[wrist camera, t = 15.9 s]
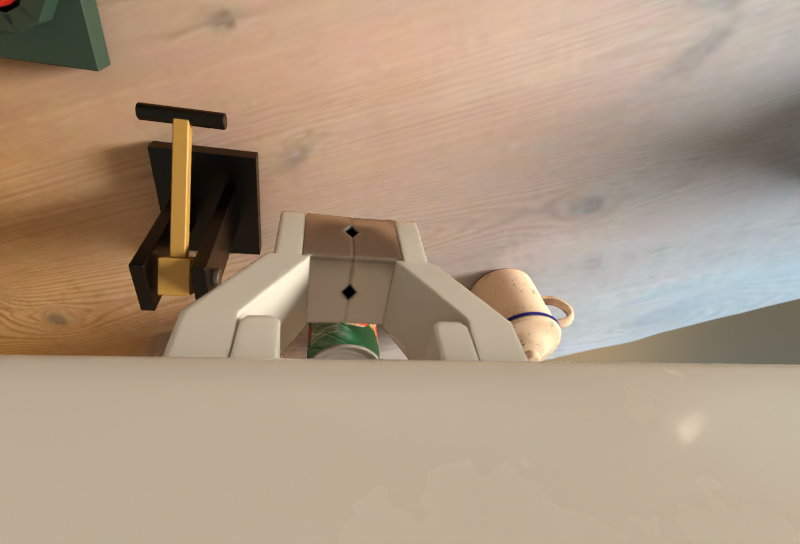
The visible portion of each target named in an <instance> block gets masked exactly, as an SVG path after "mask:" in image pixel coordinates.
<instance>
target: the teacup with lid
mask: <svg viewBox="0 0 800 544" xmlns="http://www.w3.org/2000/svg"><path fill="white" fill-rule="evenodd" d="M471 292H472V293H473V294H474V295H476V296H477V297H478V298H480V299H481V300H482V301H484V302H485V303H486V304H487V305H489V306H490V307H491V308H493V309H494V310H495V311H497V312H498V313H499V314H501V315H502V316H503V317H504V318H506V319H507V320H508V321H510V322H511V324H512V326H513V328H514V330H515V332H516V335H517V337H518V339H519V341H520V343H521V346H522V348H523V350H524V352H525V354H526V357H527V359H528V361H541V360H543V359H545V358H546V357H547V356H549V355H550V354H551V353H552V352H553V351H554V350H555V349H556V347H557V346H558V344H559V341H560V338H561V328H563V327H566V326H568V325H570V324H571V323H572V321H573V319H574V311H573V309H572V308H571V306H570V305H569V304H567V303H566V302H565V301H563V300H561V299H559V298H557V297H553V296H540V294H539V293H538V291H537V289H536V288H535V286H534V284H533V282H532V281H531V279H530V278H529V276H528V275H527V274H525V273H524V272H522V271H519V270H516V269H501V270H496V271H493V272H491V273H489V274H487V275H485V276H484V277H482V278H481V279H480V280H479V281H478V282H477V283H476V284H475V285H474V286H473V288H472V289H471ZM546 305H553V306H556V307H558V308H560V309H561V310H562V311H564V312H565V314H566V315H567V317H565V318H563V319H557V320H556V319H555V318H554V317H553V316H552V315H551V313H550V311H549V310H548V308H547V306H546Z"/></svg>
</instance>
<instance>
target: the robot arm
mask: <svg viewBox="0 0 800 544" xmlns="http://www.w3.org/2000/svg"><path fill="white" fill-rule="evenodd" d="M307 322H313V323H360V324H377V325H382V327H383V328H384V329H385V330H386V332H387V333H388V334H389V335H390V337H391V338H392V339H393V340H394V342H395V343H396V344H397V345H398V347H399V348H400V349H401V350H402V352H403V353H404V354H405V355H406V357H407V358H408V359H409V360H384V359H302V358H280V356H281V355H282V353H283V352H284V351H285V350H286V349H287V347H288V346H289V345H290V344H291V343H292V341H293V340H294V339H295V338H296V337H297V335H298V334H299V333H300V332H301V331H302V329H303V328H304V327H305V326H306V324H307ZM0 544H800V365H782V364H703V363H700V364H699V363H624V362H621V363H620V362H541V361H528V359H527V357H526V354H525V352H524V350H523V348H522V346H521V343H520V341H519V339H518V337H517V335H516V332H515V330H514V328H513V326H512V324H511V322H510V321H508V320H507V319H506V318H504V317H503V316H502V315H501V314H499V313H498V312H497V311H495V310H494V309H493V308H491V307H490V306H489V305H487V304H486V303H485V302H484V301H482V300H481V299H480V298H478V297H477V296H476V295H474V294H473V293H472V292H471V291H469V290H468V289H467V288H465V287H464V286H463V285H461V284H460V283H459V282H458V281H456V280H455V279H454V278H452V277H451V276H450V275H448V274H447V273H446V272H444V271H443V270H442V269H441V268H439V267H438V266H437V265H435V264H434V263H428V262H427V258H426V255H425V252H424V248H423V245H422V242H421V238H420V235H419V231H418V228H417V225H416V223H415V222H414V221H392V220H375V219H358V218H351V217H341V216H331V215H321V214H312V213H307V214H305V212H291V211H283V212H282V213H281V217H280V222H279V228H278V233H277V239H276V244H275V249H274V253H266V254H264V255H263V256H261V257H260V258H258V259H257V260H255V261H254V262H252V263H251V264H250V265H248V266H247V267H245V268H244V269H242V270H241V271H239V272H238V273H236V274H235V275H233V276H232V277H230V278H229V279H227V280H226V281H224V282H223V283H221V284H220V285H218V286H217V287H215V288H214V289H212V290H211V291H209V292H208V293H206V294H205V295H203V296H202V297H200V298H199V299H197V300H196V301H195V302H193V303H192V304H190V305H189V306H187V307H186V308H184V309H183V310H181V312H180V314H179V316H178V319H177V321H176V324H175V326H174V329H173V331H172V334H171V336H170V339H169V341H168V344H167V346H166V348H165V351H164V353H163V356H162V357H149V356H72V355H0Z"/></svg>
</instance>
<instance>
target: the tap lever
mask: <svg viewBox="0 0 800 544" xmlns="http://www.w3.org/2000/svg"><path fill="white" fill-rule="evenodd" d="M135 110H136V116H137V118H138V119H140V120H147V121H155V122H164V123H172V124H173V138H172V181H171V224H170V256H165V257H160V258H158V295H174V296H190V295H191V294H193V293H194V287H193V282H192V276H191V270H190V268H191V266H192V264H193V261H194V259H195V257H188V256H189V222H190V186H191V150H192V126H197V127H205V128H214V129H222V130H225V129H226V127H227V117H226V114H225V113H219V112H211V111H203V110H195V109H187V108H179V107H172V106H164V105H156V104H148V103H140V102H138V103H137V104H136V108H135Z"/></svg>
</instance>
